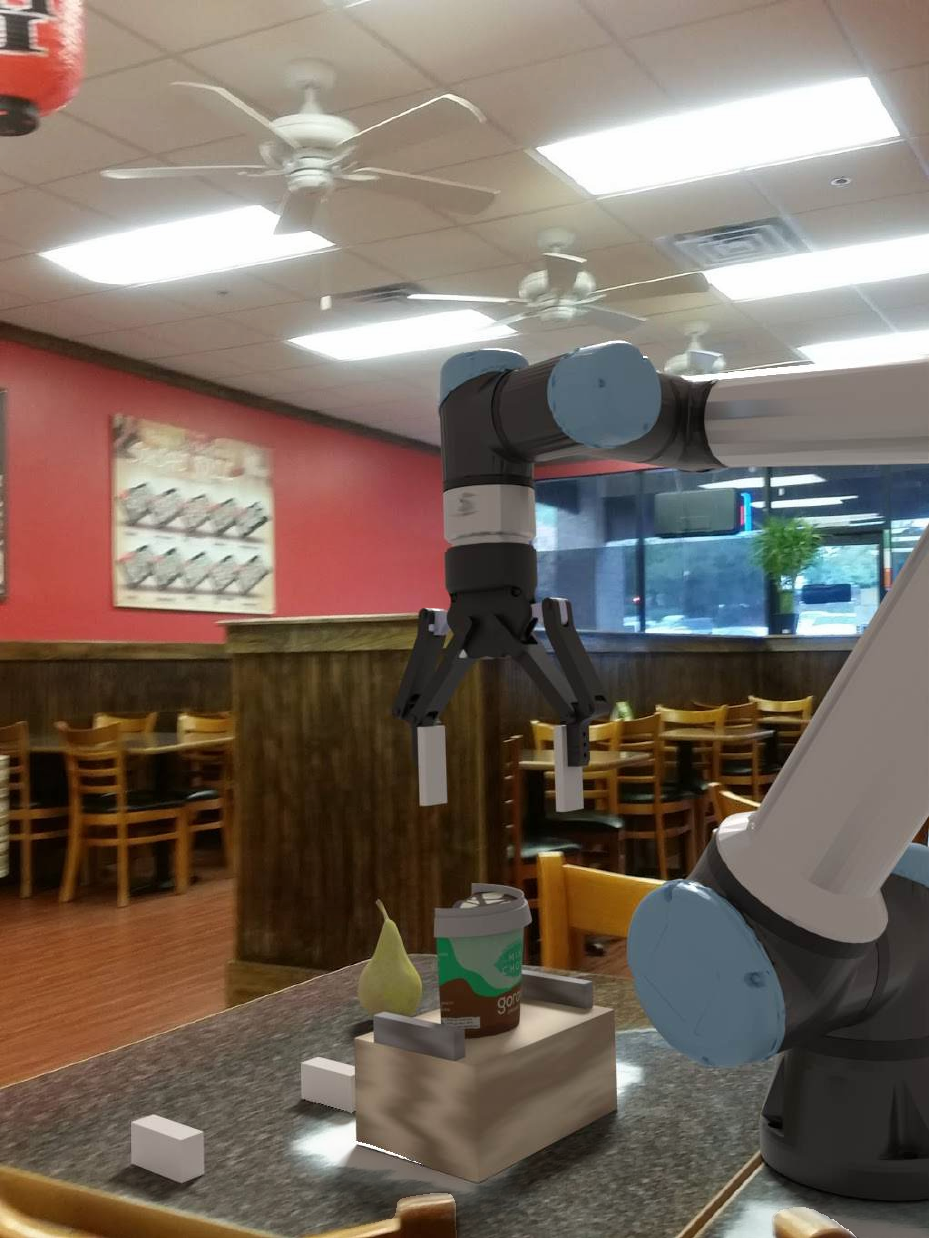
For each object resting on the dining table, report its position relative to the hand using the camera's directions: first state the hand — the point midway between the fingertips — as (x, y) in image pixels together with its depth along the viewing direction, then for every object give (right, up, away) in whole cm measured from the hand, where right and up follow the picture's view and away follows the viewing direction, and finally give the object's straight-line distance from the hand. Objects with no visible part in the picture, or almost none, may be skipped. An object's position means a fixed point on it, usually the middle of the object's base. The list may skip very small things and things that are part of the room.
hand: (498, 807), depth 97 cm
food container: (0, -17, -2) cm, 17 cm away
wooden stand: (-1, -25, -2) cm, 25 cm away
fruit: (-11, -27, +28) cm, 41 cm away
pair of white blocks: (-19, -25, -2) cm, 32 cm away
